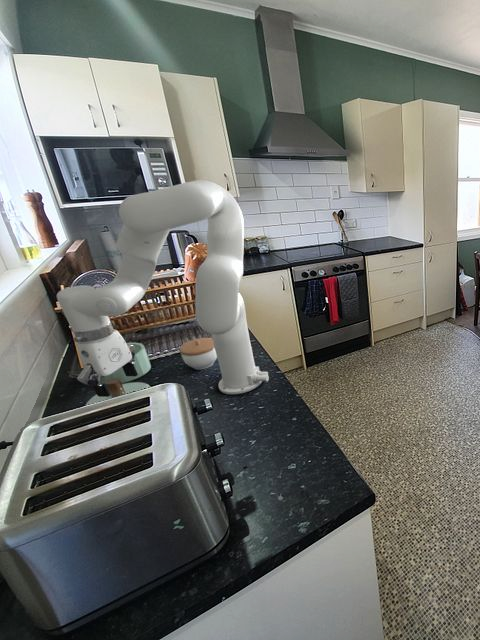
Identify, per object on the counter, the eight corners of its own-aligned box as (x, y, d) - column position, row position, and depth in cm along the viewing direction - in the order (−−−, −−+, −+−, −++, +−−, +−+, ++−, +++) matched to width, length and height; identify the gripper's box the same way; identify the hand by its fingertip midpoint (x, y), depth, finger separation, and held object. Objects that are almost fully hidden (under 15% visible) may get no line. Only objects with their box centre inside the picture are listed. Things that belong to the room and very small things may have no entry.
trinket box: (204, 375, 113) (198, 350, 109) (177, 370, 115) (169, 346, 111) (228, 359, 123) (222, 335, 119) (202, 355, 125) (195, 331, 121)
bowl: (160, 362, 120) (154, 343, 116) (129, 385, 107) (121, 364, 104) (121, 361, 119) (114, 342, 116) (85, 384, 107) (76, 363, 104)
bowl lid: (163, 386, 107) (157, 367, 104) (125, 417, 94) (117, 397, 91) (116, 384, 107) (108, 366, 104) (71, 416, 94) (61, 396, 91)
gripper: (79, 348, 84) (106, 405, 91) (134, 318, 99) (153, 368, 107) (48, 348, 84) (78, 404, 91) (108, 318, 99) (129, 368, 107)
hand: (119, 385), depth 99 cm, fingers open, 9 cm apart
